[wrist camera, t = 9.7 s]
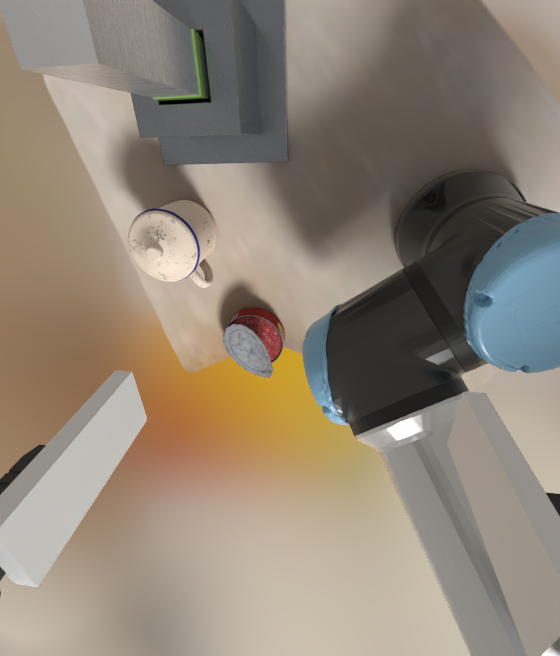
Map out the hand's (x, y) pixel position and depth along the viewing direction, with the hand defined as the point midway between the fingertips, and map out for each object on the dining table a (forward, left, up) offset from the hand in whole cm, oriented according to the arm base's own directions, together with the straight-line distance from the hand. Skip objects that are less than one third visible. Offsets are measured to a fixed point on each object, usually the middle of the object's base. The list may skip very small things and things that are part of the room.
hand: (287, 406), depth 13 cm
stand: (+12, -15, -37) cm, 41 cm away
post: (+12, -15, -29) cm, 35 cm away
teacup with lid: (+18, +3, -37) cm, 41 cm away
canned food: (+10, +19, -37) cm, 43 cm away
